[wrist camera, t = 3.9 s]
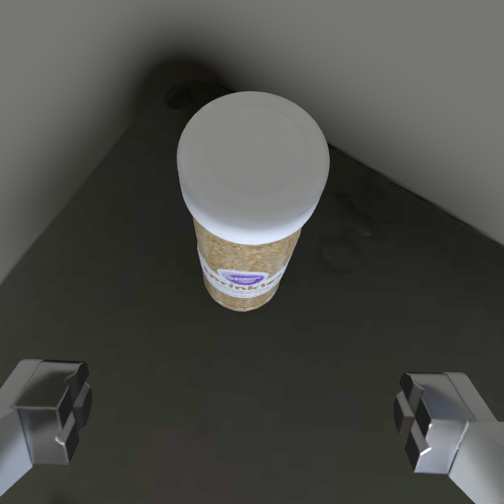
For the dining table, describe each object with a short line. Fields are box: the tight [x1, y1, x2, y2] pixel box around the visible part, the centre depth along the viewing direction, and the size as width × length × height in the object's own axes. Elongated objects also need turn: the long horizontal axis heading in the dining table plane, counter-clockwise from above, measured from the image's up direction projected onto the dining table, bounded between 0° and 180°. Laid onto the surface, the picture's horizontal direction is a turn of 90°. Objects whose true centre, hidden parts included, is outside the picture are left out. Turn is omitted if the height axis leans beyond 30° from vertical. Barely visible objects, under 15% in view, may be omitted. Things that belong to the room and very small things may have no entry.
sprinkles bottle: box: [177, 91, 330, 312], centre depth 19 cm, size 5×5×14 cm
